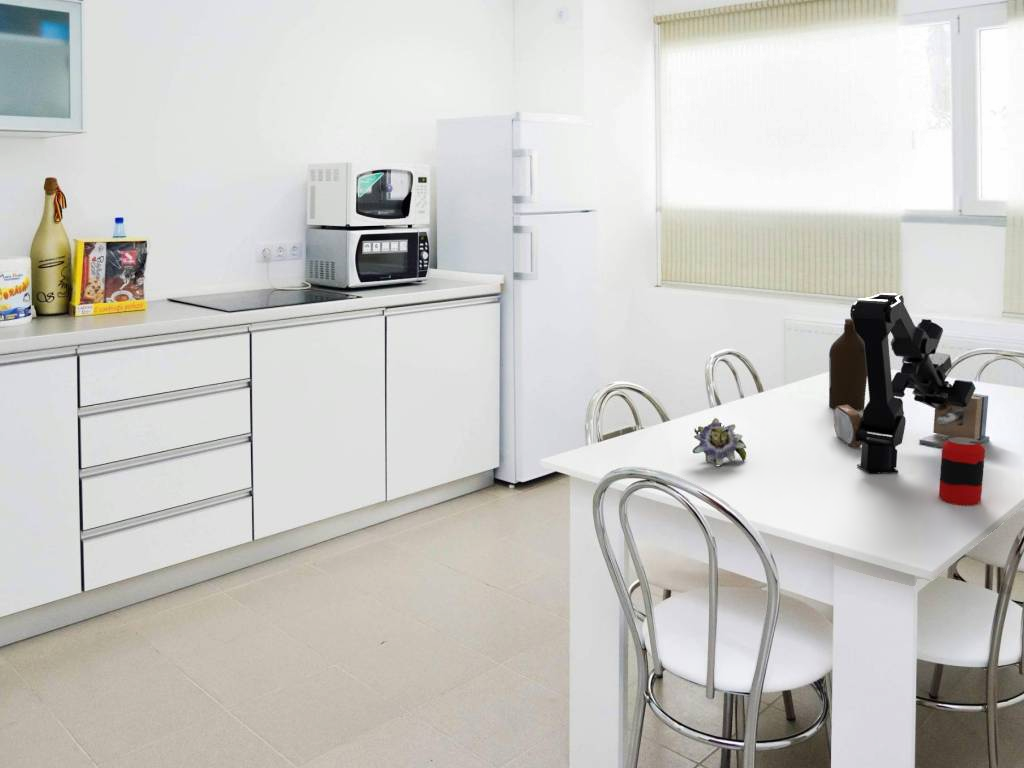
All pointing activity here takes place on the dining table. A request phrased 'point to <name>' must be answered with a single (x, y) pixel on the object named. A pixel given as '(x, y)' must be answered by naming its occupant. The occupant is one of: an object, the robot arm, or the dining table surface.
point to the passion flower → (719, 442)
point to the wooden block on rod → (970, 420)
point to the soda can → (961, 471)
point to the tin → (846, 424)
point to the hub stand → (958, 417)
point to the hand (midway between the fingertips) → (941, 408)
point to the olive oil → (847, 370)
